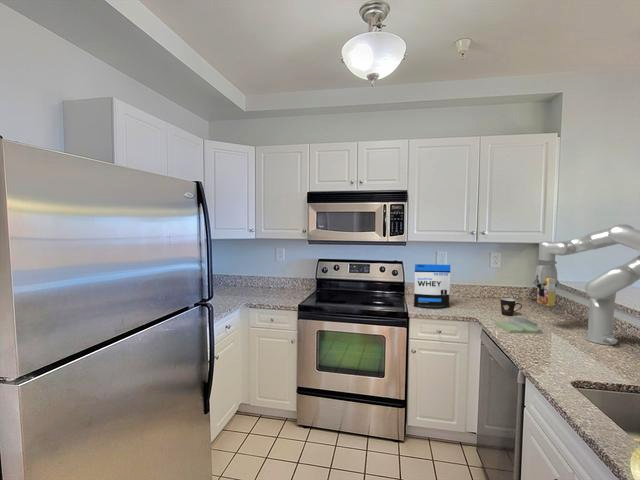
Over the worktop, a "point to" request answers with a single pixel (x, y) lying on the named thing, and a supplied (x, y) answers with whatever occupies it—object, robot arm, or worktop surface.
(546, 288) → the candy box
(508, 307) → the coffee mug
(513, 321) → the side bracket
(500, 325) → the deck plate
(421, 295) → the protein powder
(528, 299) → the worktop surface
